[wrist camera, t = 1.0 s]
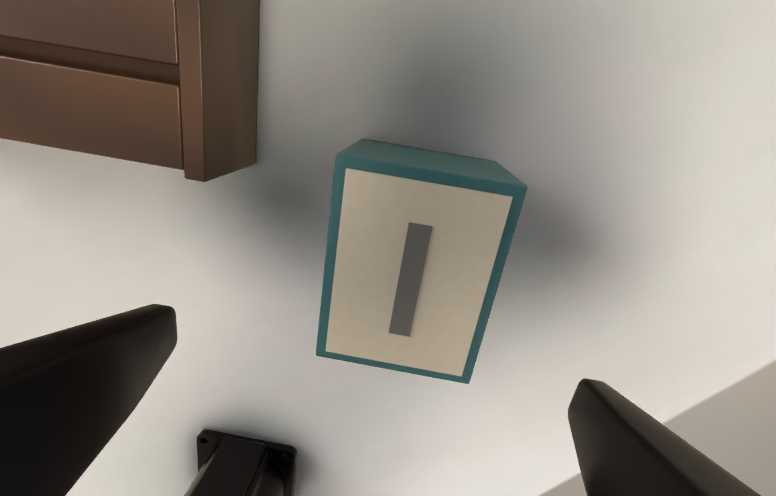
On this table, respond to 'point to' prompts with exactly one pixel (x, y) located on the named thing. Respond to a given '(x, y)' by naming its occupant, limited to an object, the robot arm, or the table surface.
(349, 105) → the table surface
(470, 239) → the tissue box
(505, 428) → the table surface
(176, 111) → the rack
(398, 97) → the table surface
